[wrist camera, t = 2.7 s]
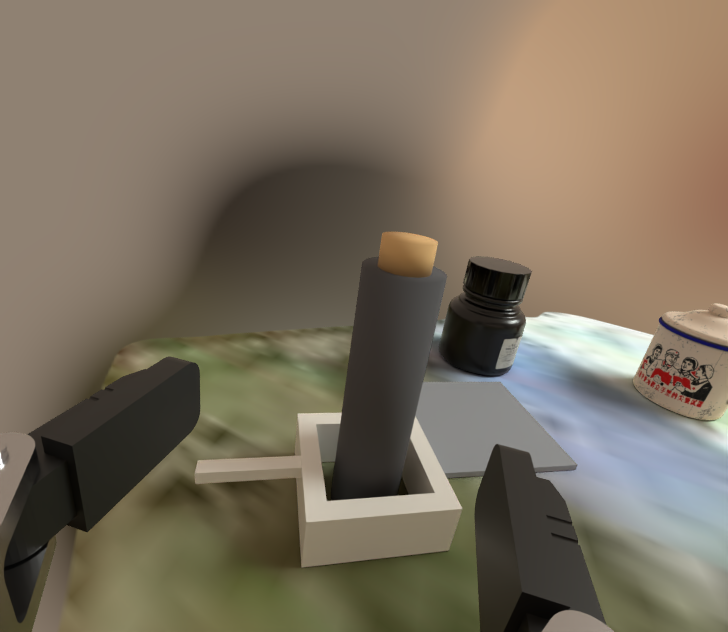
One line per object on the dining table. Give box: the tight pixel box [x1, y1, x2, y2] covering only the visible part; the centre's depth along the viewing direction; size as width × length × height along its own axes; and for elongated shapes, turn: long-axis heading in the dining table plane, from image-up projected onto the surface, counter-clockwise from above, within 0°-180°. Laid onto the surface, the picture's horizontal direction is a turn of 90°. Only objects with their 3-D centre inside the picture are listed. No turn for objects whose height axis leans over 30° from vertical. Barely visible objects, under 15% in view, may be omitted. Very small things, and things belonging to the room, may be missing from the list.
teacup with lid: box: [633, 304, 728, 420], centre depth 41 cm, size 12×9×12 cm
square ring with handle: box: [195, 413, 462, 568], centre depth 25 cm, size 15×9×4 cm, turn 102°
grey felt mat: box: [415, 382, 577, 478], centre depth 35 cm, size 12×12×1 cm
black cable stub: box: [331, 232, 447, 501], centre depth 23 cm, size 4×4×18 cm
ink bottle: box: [439, 256, 532, 376], centre depth 45 cm, size 10×9×12 cm
